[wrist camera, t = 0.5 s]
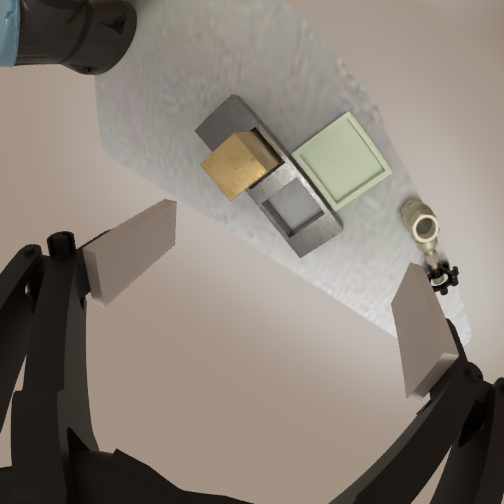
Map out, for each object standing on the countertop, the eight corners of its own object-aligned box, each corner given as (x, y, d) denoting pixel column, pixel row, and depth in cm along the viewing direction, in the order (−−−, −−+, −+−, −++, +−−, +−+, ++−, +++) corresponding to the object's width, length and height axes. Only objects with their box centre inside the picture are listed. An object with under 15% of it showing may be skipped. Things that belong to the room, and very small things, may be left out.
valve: (386, 207, 34) (414, 279, 37) (395, 224, 28) (423, 304, 31) (427, 187, 31) (451, 261, 34) (444, 200, 25) (466, 284, 28)
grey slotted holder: (202, 130, 36) (194, 130, 34) (238, 96, 33) (232, 94, 31) (302, 250, 40) (299, 258, 38) (342, 224, 37) (343, 230, 35)
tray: (293, 152, 35) (290, 154, 33) (347, 111, 30) (348, 111, 29) (335, 207, 36) (335, 211, 34) (390, 170, 32) (393, 172, 30)
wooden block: (232, 154, 37) (200, 164, 28) (259, 130, 34) (234, 132, 26) (256, 181, 38) (230, 201, 29) (284, 159, 35) (266, 171, 27)
